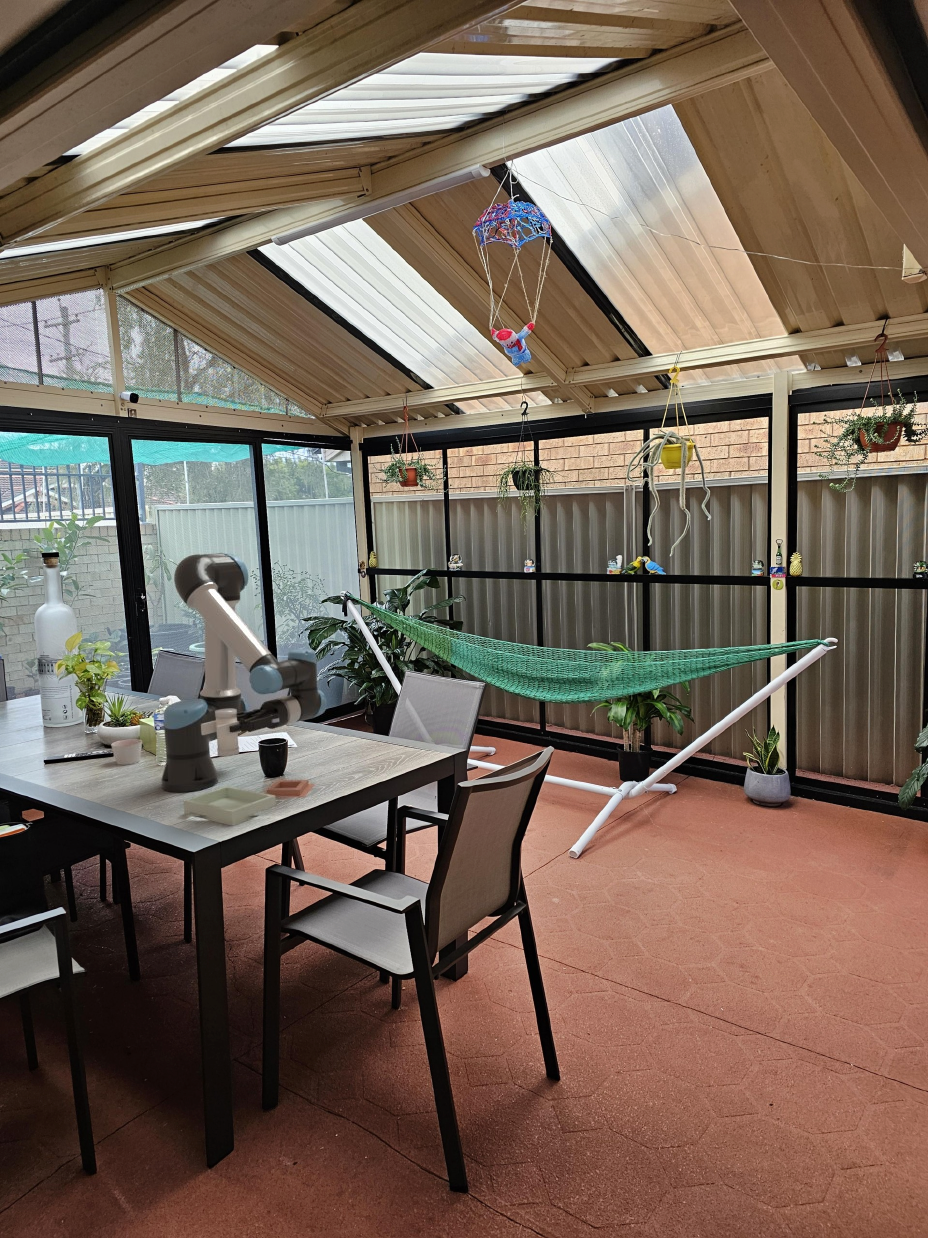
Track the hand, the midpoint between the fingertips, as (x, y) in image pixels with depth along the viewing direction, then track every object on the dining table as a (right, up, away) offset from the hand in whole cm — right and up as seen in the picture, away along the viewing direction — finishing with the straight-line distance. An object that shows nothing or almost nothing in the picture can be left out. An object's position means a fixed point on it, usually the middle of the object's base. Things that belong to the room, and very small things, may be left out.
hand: (210, 730), depth 205 cm
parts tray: (+3, -21, +6) cm, 22 cm away
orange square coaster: (+15, -20, +19) cm, 32 cm away
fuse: (+3, -6, +5) cm, 9 cm away
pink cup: (-43, -18, +58) cm, 75 cm away
